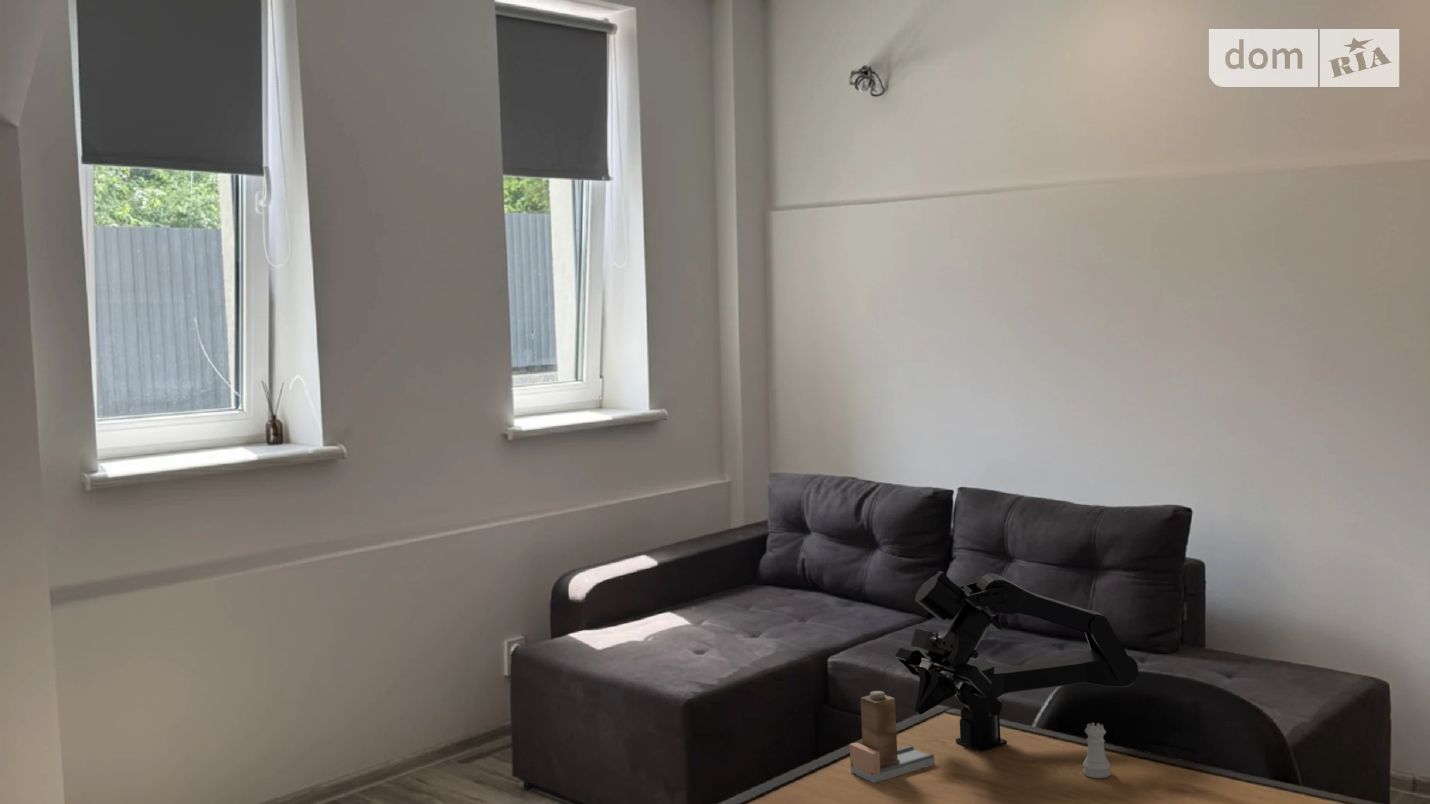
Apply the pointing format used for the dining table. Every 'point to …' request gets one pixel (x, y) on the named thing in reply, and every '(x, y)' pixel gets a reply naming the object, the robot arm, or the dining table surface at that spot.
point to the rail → (868, 766)
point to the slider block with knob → (880, 726)
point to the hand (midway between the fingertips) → (917, 712)
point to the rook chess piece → (1096, 753)
